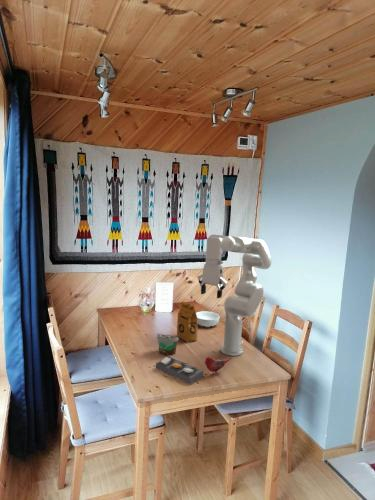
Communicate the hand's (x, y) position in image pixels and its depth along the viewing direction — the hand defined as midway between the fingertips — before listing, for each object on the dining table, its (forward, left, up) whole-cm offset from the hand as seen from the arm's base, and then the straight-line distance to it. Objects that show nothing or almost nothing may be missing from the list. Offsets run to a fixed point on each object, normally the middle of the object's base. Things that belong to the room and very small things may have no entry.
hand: (211, 295), depth 186 cm
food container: (+5, -24, -37) cm, 44 cm away
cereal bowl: (-48, -35, -37) cm, 70 cm away
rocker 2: (+18, +2, -33) cm, 37 cm away
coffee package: (-20, -29, -37) cm, 51 cm away
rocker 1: (+18, -12, -33) cm, 39 cm away
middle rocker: (+18, -5, -33) cm, 38 cm away
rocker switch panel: (+16, -5, -37) cm, 40 cm away
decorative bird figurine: (+4, +9, -37) cm, 38 cm away
